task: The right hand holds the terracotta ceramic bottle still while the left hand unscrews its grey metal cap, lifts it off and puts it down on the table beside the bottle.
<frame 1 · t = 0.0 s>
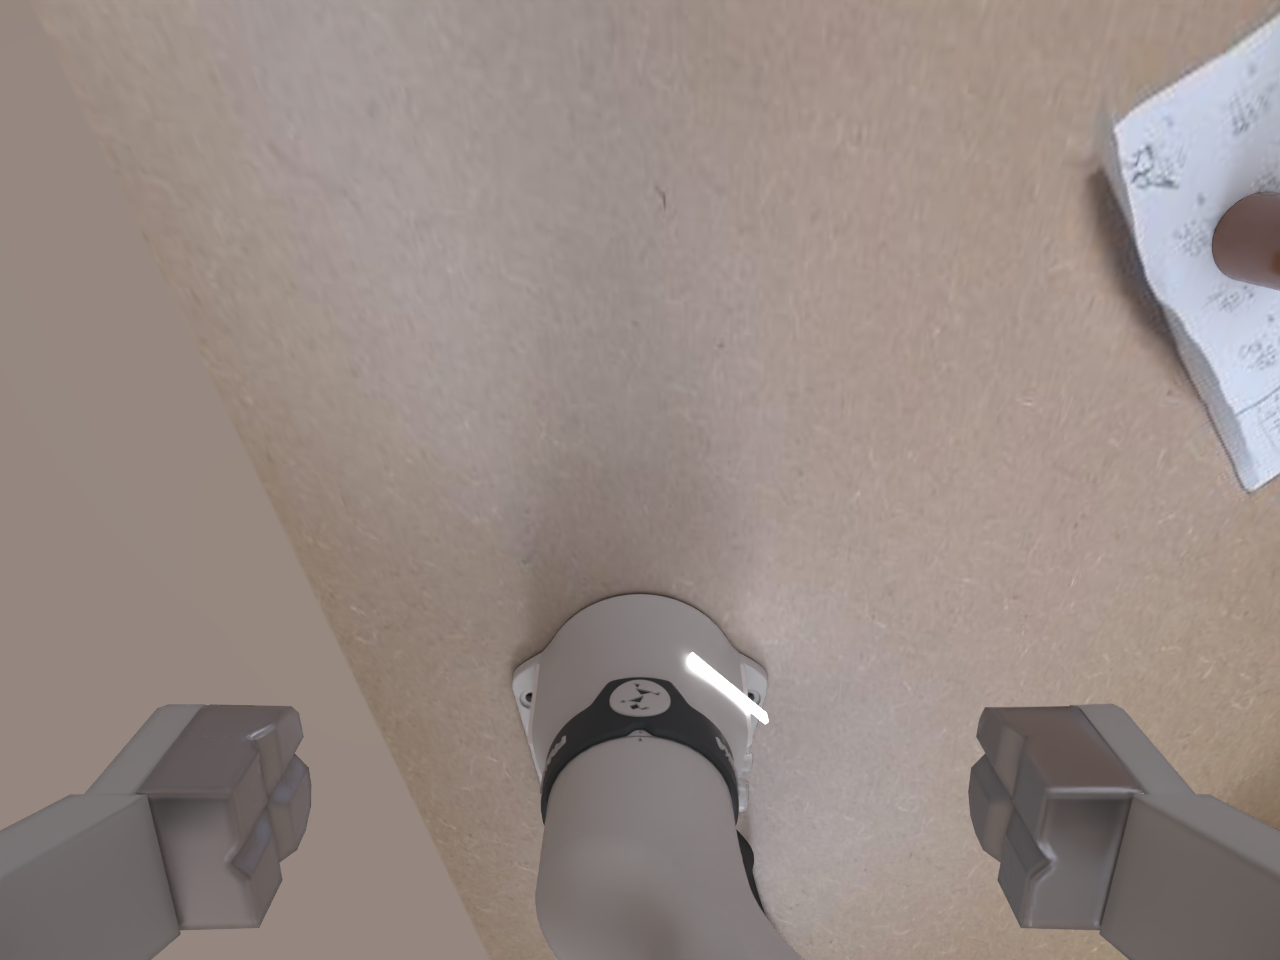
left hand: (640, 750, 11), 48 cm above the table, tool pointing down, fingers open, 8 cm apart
bottle: (1256, 237, 55), on the table
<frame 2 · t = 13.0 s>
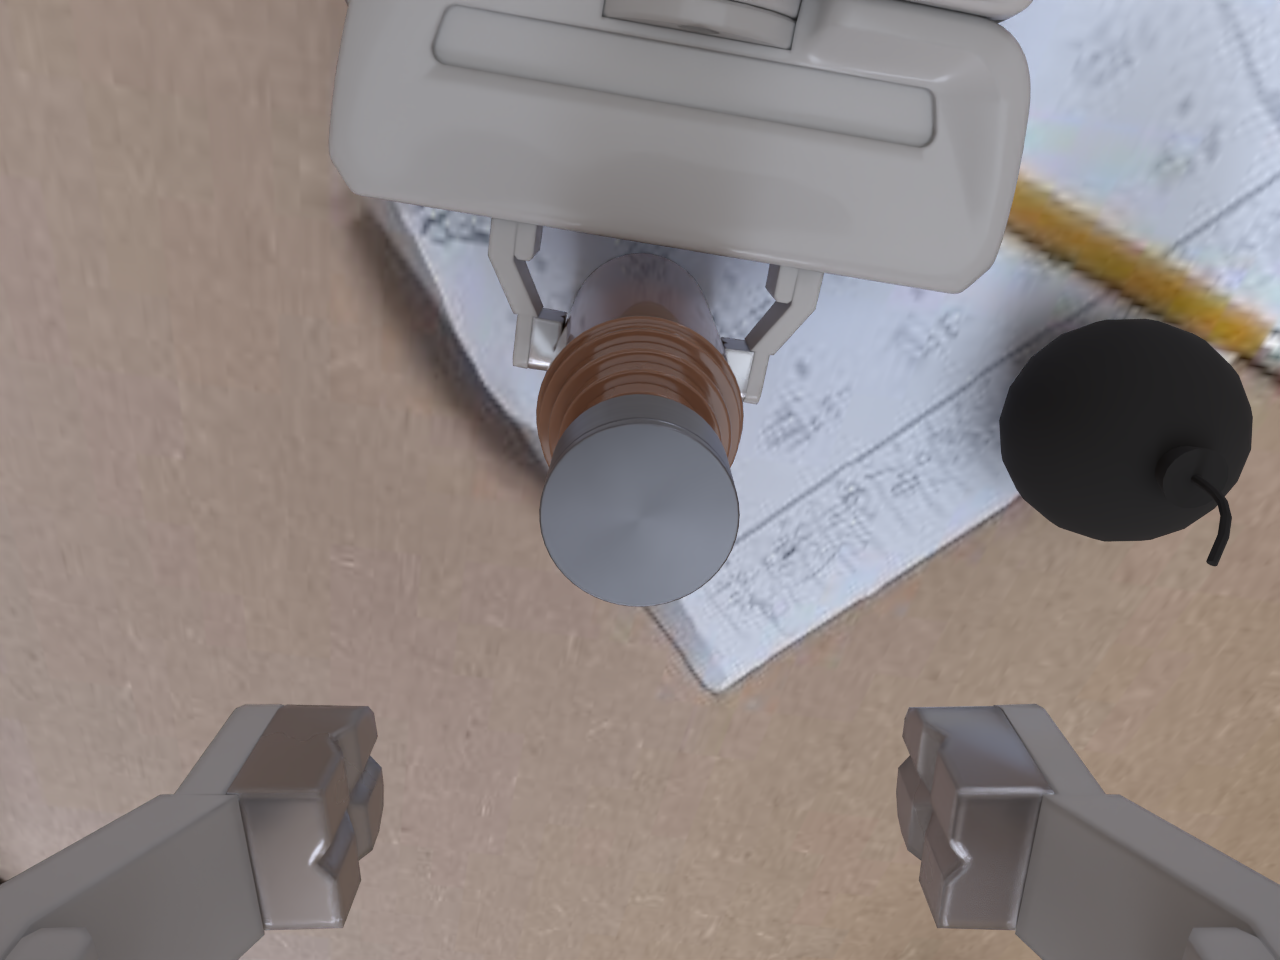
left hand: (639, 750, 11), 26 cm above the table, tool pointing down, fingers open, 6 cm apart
right hand: (637, 382, 30), fingers closed on bottle, 5 cm apart
bottle: (640, 323, 35), on the table, touching right hand
bomb: (1066, 398, 36), on the table
cap: (639, 512, 17), point 19 cm above the table, screwed on, not yet turned
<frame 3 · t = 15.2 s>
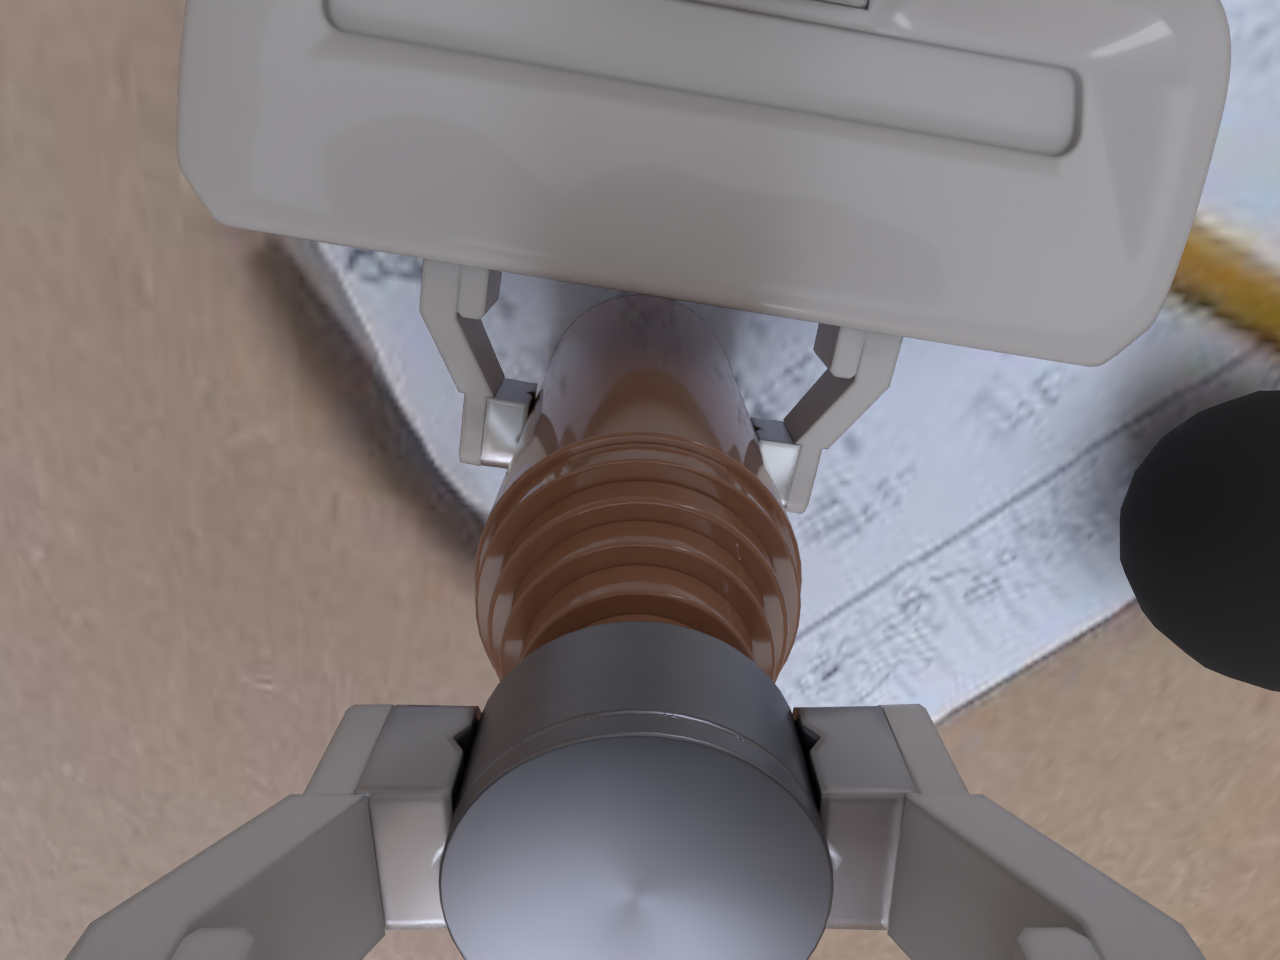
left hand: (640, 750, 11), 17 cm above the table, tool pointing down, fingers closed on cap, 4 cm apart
bottle: (639, 386, 26), on the table, touching right hand
bomb: (1197, 482, 27), on the table
cap: (636, 874, 9), point 19 cm above the table, screwed on, not yet turned, touching left hand
when the left hand's fingers open (2 cm above the table, at t = 35.4 s): cap drops 2 cm, point 2 cm above the table.
when the right hand's fingers open (5 cm above the table, at t = 36.6 s): bottle stays where it is, on the table.
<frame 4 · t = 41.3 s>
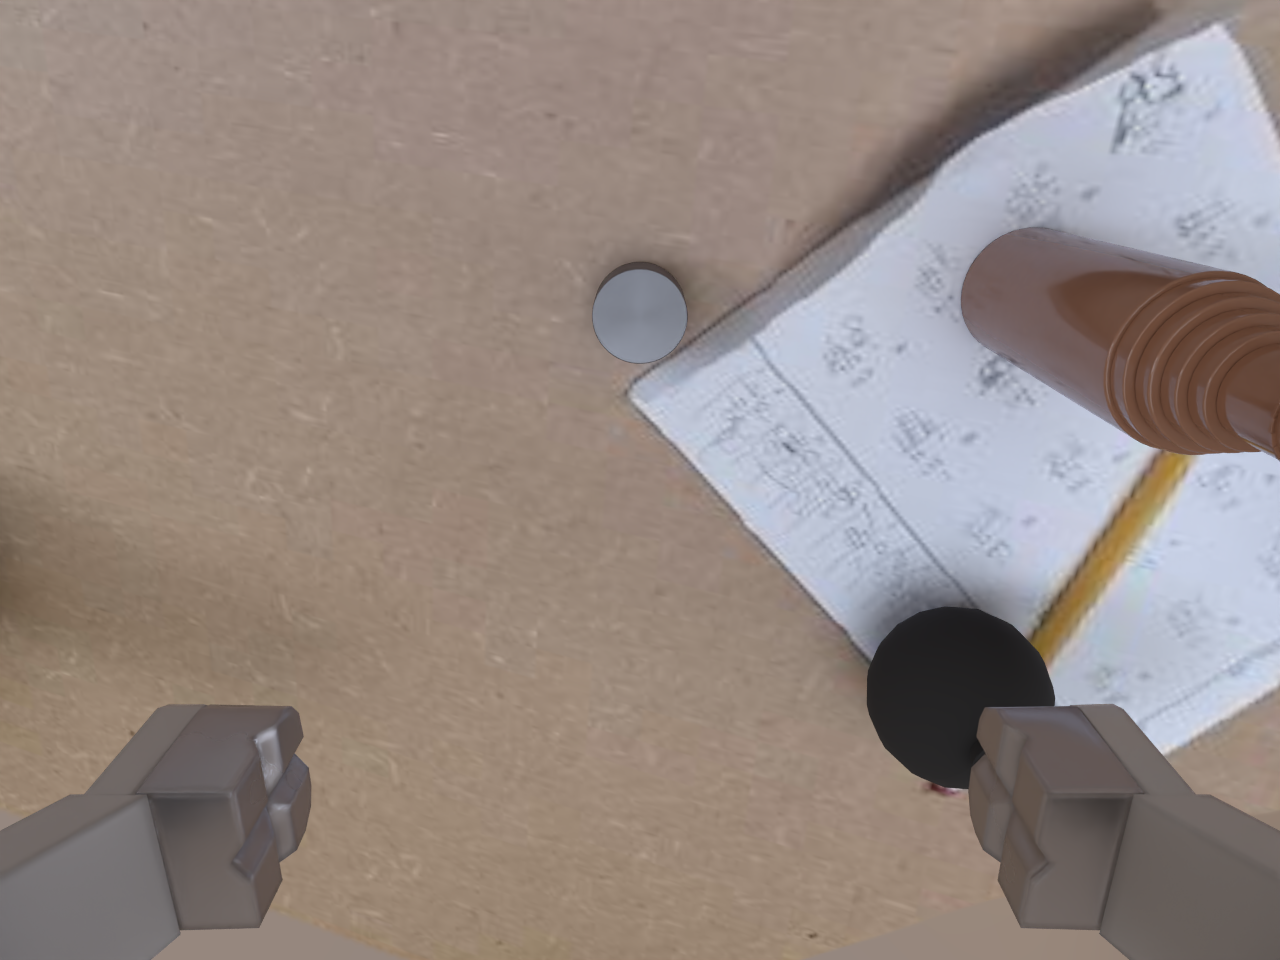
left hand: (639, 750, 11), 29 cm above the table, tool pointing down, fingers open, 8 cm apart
bottle: (1024, 292, 38), on the table
bomb: (929, 646, 44), on the table
cap: (639, 315, 36), point 2 cm above the table, off its thread
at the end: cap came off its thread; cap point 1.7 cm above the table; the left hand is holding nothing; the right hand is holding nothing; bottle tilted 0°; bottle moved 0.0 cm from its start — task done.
